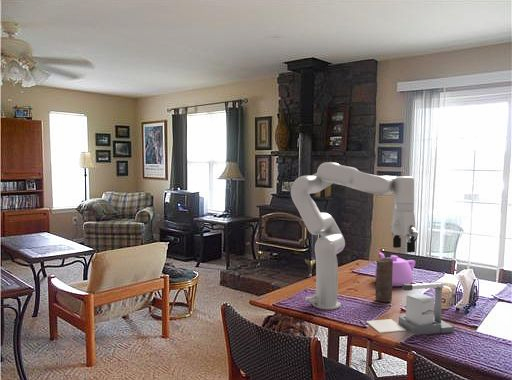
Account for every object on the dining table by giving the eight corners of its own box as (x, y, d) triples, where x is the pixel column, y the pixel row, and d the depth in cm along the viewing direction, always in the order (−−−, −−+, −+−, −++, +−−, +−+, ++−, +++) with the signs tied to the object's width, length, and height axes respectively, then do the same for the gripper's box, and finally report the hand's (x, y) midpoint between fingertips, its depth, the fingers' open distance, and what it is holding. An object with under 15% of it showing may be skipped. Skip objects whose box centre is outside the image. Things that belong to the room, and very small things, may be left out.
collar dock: (415, 335, 151) (416, 294, 150) (397, 323, 163) (398, 285, 162) (453, 332, 154) (454, 292, 153) (433, 320, 166) (434, 282, 165)
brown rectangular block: (392, 304, 184) (393, 260, 183) (376, 303, 186) (377, 260, 184) (390, 299, 192) (391, 257, 190) (374, 297, 193) (375, 256, 192)
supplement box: (420, 333, 153) (421, 300, 152) (404, 326, 160) (405, 294, 159) (433, 329, 156) (434, 297, 156) (418, 323, 163) (419, 292, 162)
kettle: (423, 286, 211) (424, 258, 210) (386, 289, 206) (387, 260, 205) (399, 275, 233) (399, 249, 232) (365, 277, 228) (365, 250, 227)
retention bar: (406, 291, 154) (406, 285, 154) (401, 288, 157) (401, 283, 157) (445, 288, 157) (445, 283, 157) (439, 286, 160) (439, 281, 160)
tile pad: (379, 333, 153) (379, 332, 153) (366, 322, 164) (366, 321, 164) (406, 330, 155) (406, 329, 155) (391, 319, 166) (391, 319, 166)
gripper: (384, 205, 170) (383, 246, 171) (408, 209, 153) (408, 254, 154) (400, 205, 171) (400, 245, 172) (425, 209, 155) (425, 253, 156)
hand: (403, 249), depth 163 cm, fingers open, 9 cm apart
